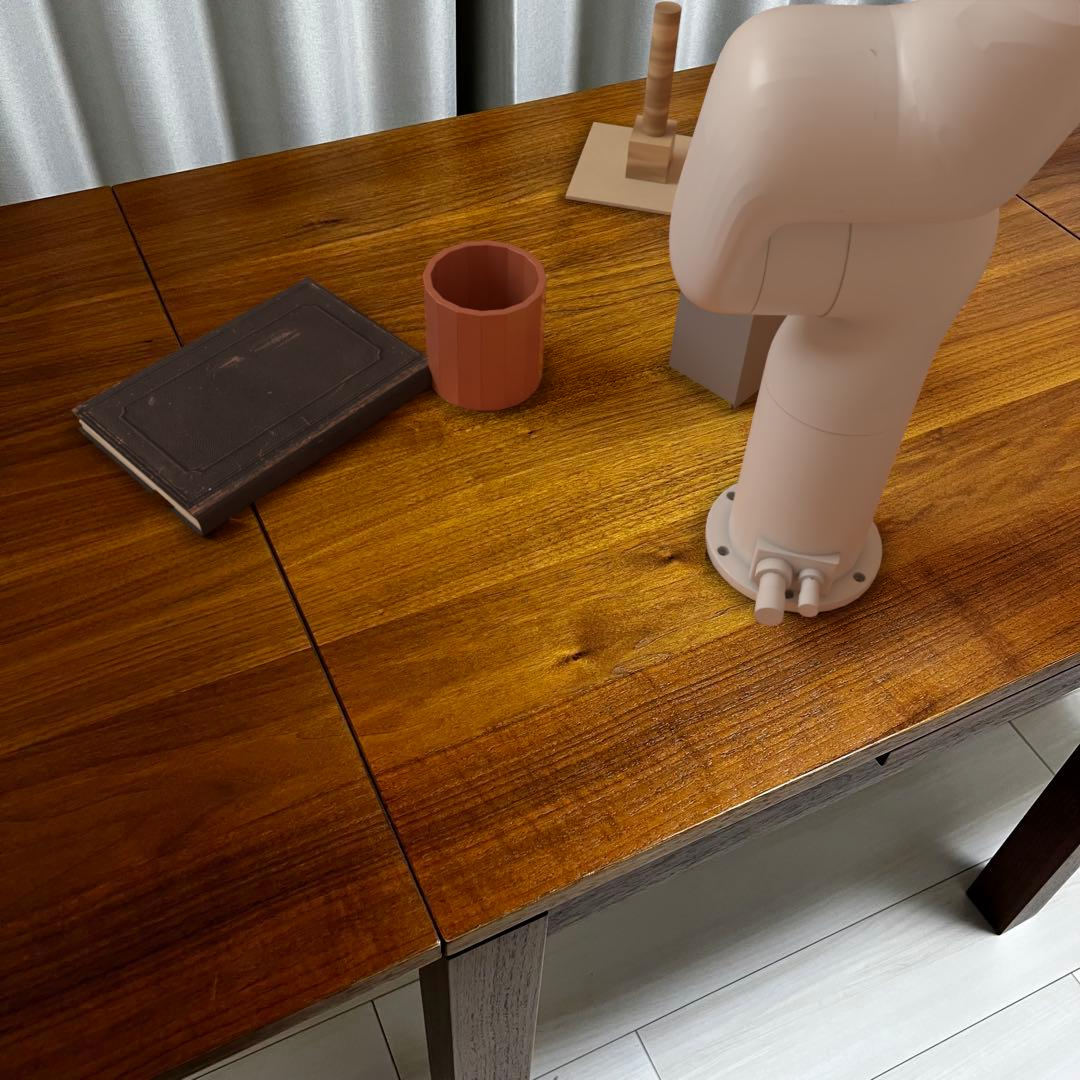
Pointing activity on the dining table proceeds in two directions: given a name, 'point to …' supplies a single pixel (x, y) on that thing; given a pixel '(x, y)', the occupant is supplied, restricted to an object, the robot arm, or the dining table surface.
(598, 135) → the mat
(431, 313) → the cup
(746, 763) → the dining table surface
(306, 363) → the hardcover book
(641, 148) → the masher
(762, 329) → the perfume bottle
